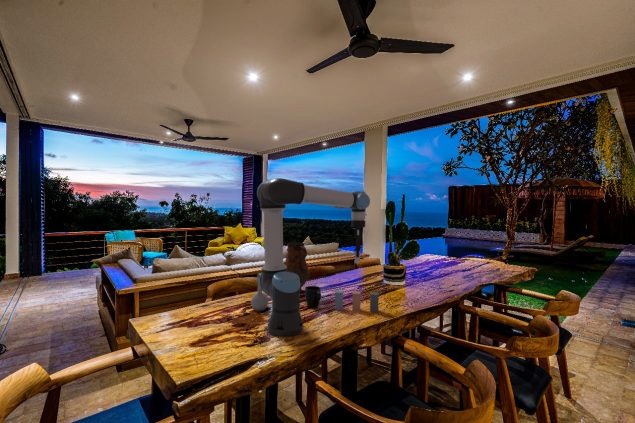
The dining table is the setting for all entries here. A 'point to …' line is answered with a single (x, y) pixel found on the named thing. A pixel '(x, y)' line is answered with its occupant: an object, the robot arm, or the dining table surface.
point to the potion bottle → (259, 298)
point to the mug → (312, 295)
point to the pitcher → (297, 262)
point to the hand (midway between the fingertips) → (357, 261)
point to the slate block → (338, 300)
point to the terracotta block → (356, 301)
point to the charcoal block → (374, 302)
